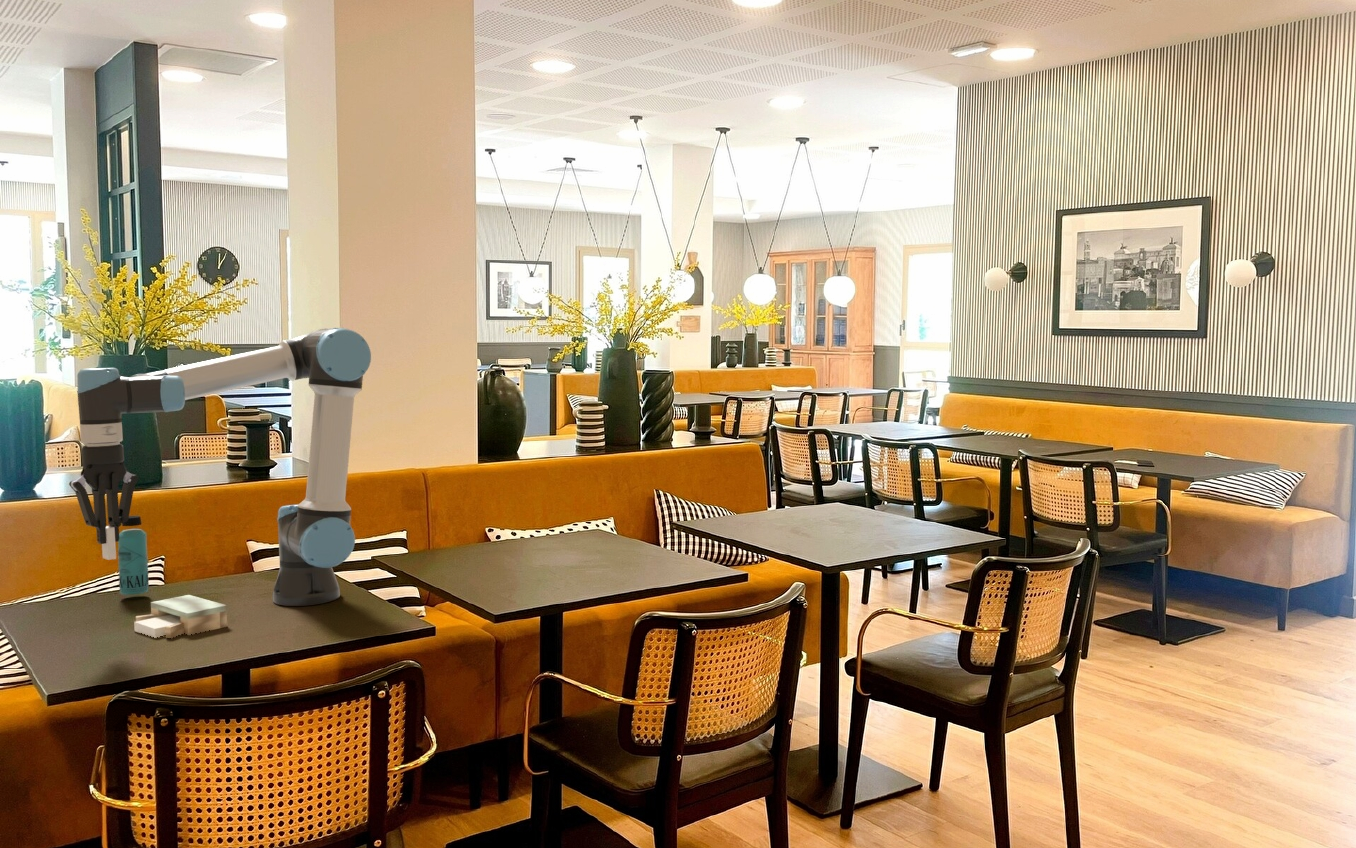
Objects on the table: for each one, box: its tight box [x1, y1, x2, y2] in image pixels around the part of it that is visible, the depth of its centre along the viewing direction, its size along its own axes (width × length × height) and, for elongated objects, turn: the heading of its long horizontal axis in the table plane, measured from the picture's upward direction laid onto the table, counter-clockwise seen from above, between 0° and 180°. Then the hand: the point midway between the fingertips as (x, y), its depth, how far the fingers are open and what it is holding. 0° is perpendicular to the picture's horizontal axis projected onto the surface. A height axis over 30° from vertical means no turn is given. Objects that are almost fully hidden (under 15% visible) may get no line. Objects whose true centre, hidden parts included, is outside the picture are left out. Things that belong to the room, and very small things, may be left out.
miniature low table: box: [135, 594, 228, 639], centre depth 230 cm, size 13×16×5 cm
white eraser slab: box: [133, 614, 181, 639], centre depth 229 cm, size 12×9×2 cm
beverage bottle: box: [117, 515, 150, 596], centre depth 256 cm, size 6×7×20 cm
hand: (109, 558), depth 218 cm, fingers closed
